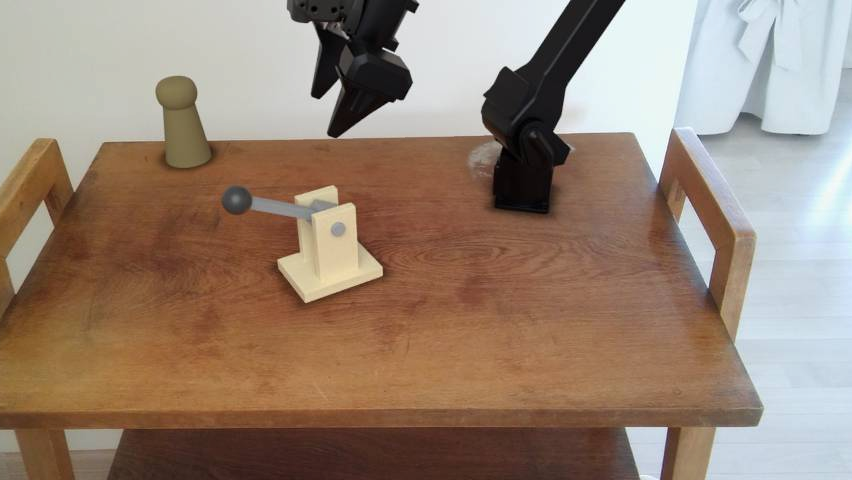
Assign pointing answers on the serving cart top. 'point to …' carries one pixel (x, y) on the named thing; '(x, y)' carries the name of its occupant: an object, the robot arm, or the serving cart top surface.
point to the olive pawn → (182, 123)
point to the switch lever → (268, 204)
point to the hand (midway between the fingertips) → (322, 116)
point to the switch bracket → (328, 250)
